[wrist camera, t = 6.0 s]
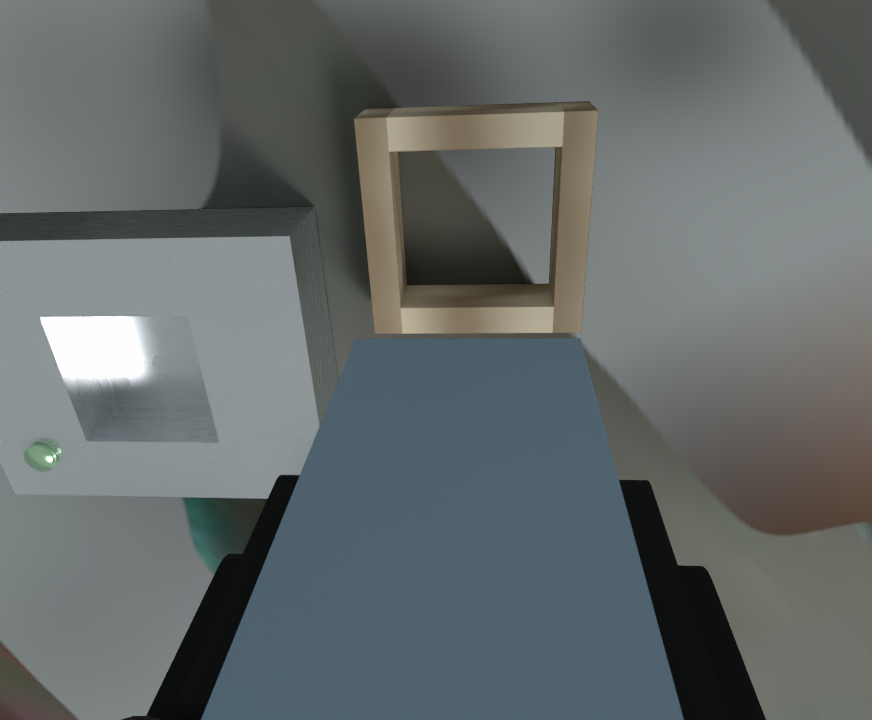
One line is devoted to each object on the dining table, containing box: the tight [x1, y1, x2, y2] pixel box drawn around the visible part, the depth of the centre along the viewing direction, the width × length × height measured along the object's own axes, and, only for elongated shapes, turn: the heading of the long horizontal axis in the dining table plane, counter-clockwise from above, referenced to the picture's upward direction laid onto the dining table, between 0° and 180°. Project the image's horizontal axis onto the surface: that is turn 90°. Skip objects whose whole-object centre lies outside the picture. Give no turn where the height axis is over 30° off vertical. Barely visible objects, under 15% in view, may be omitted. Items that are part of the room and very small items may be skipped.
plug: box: [201, 339, 684, 720], centre depth 10 cm, size 4×4×9 cm
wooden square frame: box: [354, 101, 598, 334], centre depth 26 cm, size 9×9×2 cm
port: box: [0, 207, 338, 499], centre depth 30 cm, size 16×13×4 cm
